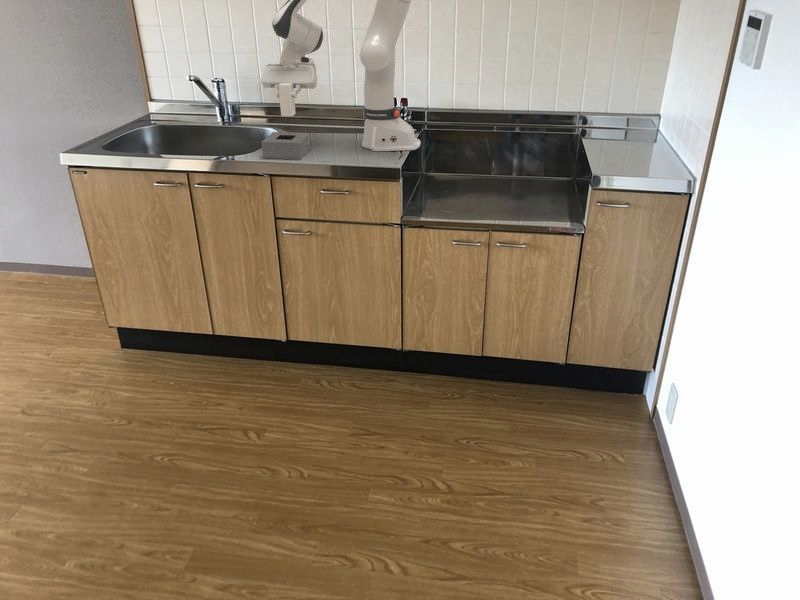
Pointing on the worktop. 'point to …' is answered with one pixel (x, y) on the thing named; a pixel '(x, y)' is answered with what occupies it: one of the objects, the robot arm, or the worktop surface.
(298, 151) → the grey socket block
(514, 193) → the worktop surface
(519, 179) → the worktop surface
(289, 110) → the plug
